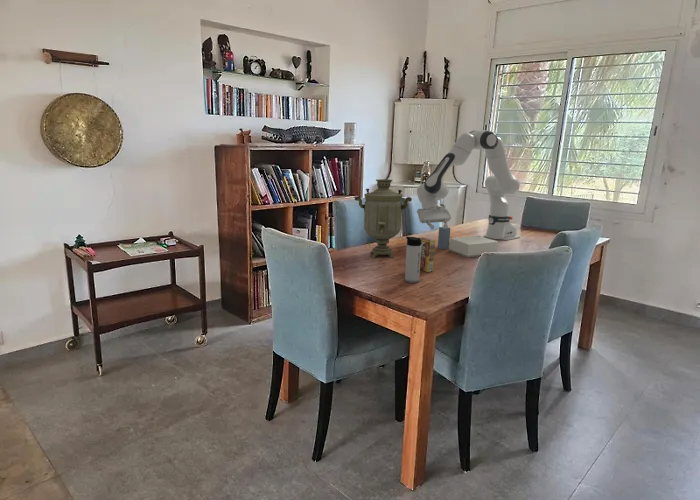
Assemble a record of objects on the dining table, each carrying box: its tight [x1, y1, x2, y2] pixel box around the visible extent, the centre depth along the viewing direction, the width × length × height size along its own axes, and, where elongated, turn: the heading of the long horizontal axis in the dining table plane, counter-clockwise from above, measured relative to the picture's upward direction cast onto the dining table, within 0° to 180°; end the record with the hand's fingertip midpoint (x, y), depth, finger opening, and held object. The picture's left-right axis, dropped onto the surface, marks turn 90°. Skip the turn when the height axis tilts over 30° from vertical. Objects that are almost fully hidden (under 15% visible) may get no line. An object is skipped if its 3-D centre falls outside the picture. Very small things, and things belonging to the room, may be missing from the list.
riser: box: [448, 235, 499, 259], centre depth 255 cm, size 21×17×7 cm
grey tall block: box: [437, 226, 451, 250], centre depth 263 cm, size 4×4×12 cm
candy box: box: [417, 236, 436, 273], centre depth 219 cm, size 9×4×15 cm, turn 39°
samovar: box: [354, 178, 413, 259], centre depth 239 cm, size 30×26×40 cm
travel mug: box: [404, 236, 421, 284], centre depth 201 cm, size 6×7×20 cm
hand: (439, 227), depth 266 cm, fingers open, 8 cm apart
